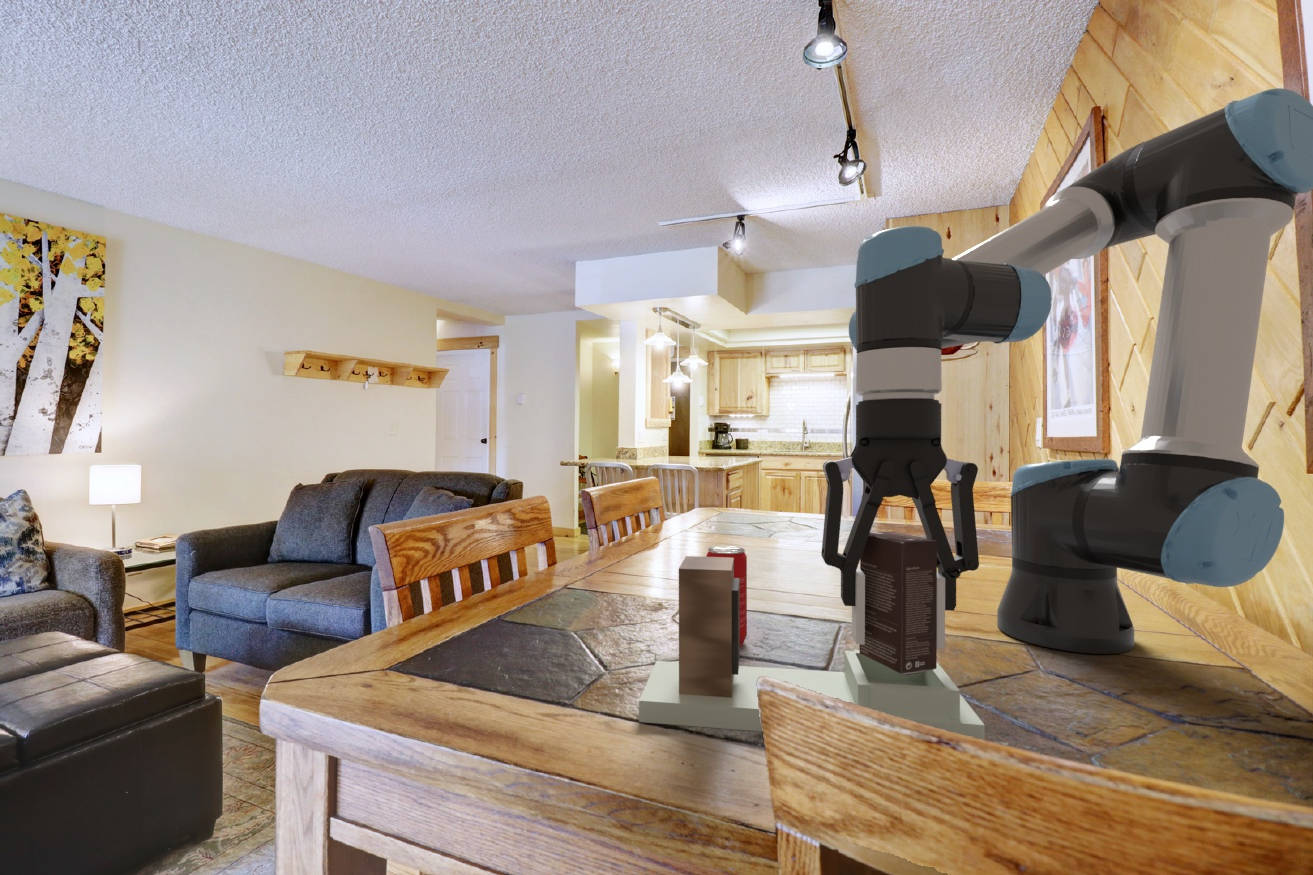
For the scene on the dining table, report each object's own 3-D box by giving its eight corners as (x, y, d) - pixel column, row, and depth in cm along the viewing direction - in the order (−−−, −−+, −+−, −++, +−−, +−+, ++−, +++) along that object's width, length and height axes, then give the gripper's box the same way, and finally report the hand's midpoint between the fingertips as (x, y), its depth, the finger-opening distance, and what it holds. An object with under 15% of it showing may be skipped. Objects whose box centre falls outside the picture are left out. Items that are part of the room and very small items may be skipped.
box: (940, 670, 56) (939, 538, 56) (900, 677, 54) (900, 541, 54) (893, 648, 61) (893, 529, 61) (856, 654, 60) (856, 531, 60)
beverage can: (745, 650, 75) (745, 553, 75) (704, 647, 76) (703, 552, 76) (747, 637, 80) (747, 546, 80) (708, 634, 81) (708, 545, 81)
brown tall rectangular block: (739, 673, 63) (739, 557, 63) (738, 697, 57) (737, 570, 57) (686, 669, 64) (685, 556, 64) (678, 693, 58) (678, 568, 58)
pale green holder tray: (948, 697, 62) (948, 653, 62) (984, 748, 52) (984, 695, 52) (656, 679, 66) (656, 638, 66) (639, 721, 57) (638, 673, 57)
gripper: (992, 399, 60) (991, 634, 60) (791, 401, 63) (790, 624, 63) (1025, 394, 52) (1024, 662, 52) (795, 396, 55) (795, 649, 55)
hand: (896, 641), depth 58 cm, fingers closed on box, 6 cm apart
